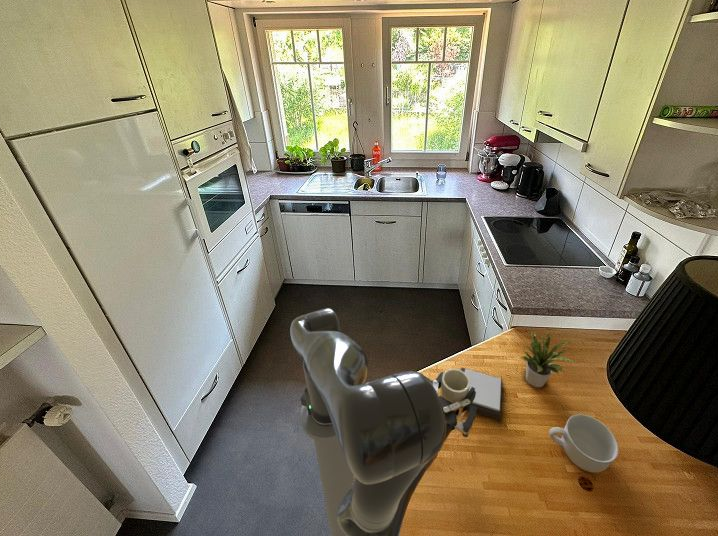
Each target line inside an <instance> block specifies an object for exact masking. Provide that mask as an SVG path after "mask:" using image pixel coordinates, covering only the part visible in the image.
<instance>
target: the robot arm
mask: <svg viewBox="0 0 718 536" xmlns="http://www.w3.org/2000/svg"><path fill="white" fill-rule="evenodd" d="M290 324H291V325H290V328H289V329H290V330H289V333H290V340H291V343H292V346H293V348H294V350H295V352H296V354H297V355H298V356H299V358H300V359H302V369H303V373H304V378H305V385H306V387H305V388H304V391H303V394H302V395H301V397H300V404H301V406H302V405H303V406H306V407H307V409H308V414H309V415H311V416H312V419H313V420H314V422H315V423H317V424H318V425H321V426H331V425H333V428H334V431H335V433H336V436H337V439H338V442H339V445H340V448H341V451H342V453H343V456H344V458H345V461H346V463H347V465H348V467H349V469H350V470H351V472H352V474H353V475H354V481H353V486H352V488H351V489H350V490H349V491H348V493H347V494H346V495H345V496H344V498H343V500H342V501H341V503H340V506H339V508H338V512H337V520H338V524H339V526H340V528H341V529H342V531H343V532H344V533H345V534H346V536H400V534H401V532H402V531H401V530H402V526H403V523H404V518H405V516H406V512H407V509H408V506H409V503H410V501H411V499H412V497H413V495H414V493H415V491H416V489H417V488H418V485H419V484H420V482H421V480H422V479H423V477H424V476H425V473H426V472H427V471H428V469H430V467H431V466H432V464H433V463H434V461H435V460H436V459H437V457H438V455H439V453H440V451H441V450H442V448H443V446H444V445H445V442H446V440H447V438H448V437H449V435H450V434H451V432H452V431H454V430H456V431H459V432H460V433H461V435H462V436H463V437H464V438H468V437H469V434H470V432H471V429H472V427H473V424H474V421H475V418H476V415H477V413H476V411H477V408H476V407H475V406H473V405H472V402H473V401H474V399H475V396H476V391H475V388H474V387H471V389H470V391H469V393H468V394H467V396H466V397H465V400H463V401H461V402H459V401H458V402H456V403H454V404H453V403H451V402H450V401H447V400H445V399H444V398H443V397H442V396H440V395H439V389H441V381H442V376H443V373H444V372H445V371H446V370H444V371H441V372H440V373H439V374H438V375H437V377H436V378H435V379H434V380H431V378H429V377H427V376H425V374H423V373H422V372H419V371H417V370H403V371H399V372H395V373H392V374H389V375H386V376H383V377H380V378H376V379H373V380H371V381H368V382H366V380H367V376H368V370H369V366H368V364H369V363H368V358H367V355H366V353H365V351H364V349H363V348H362V346H360V344H358V342H356V341H355V340H354V339H353V338H351V336H349V335H347V334H345V333H344V332H342V331H341V325H340V321H339V318H338V314H337V313H336V312H335V311H334V310H333V309H332V308H329V307H327V308H326V307H325V308H322V309H319V310H315V311H311V312H309V313H306V314H302V315H299V316H298V317H296V318H295V319H293V320H292V322H291V323H290ZM464 412H465V413H466V412H467V413H468V414H467V416H466V419H463V420H461V421H460V422H458V420H457V417H459V416H460V415H461V414H462V413H464Z"/></svg>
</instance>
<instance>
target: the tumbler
mask: <svg viewBox="0 0 718 536" xmlns="http://www.w3.org/2000/svg"><path fill="white" fill-rule="evenodd" d="M444 371H445V372H444ZM444 371H443V376H442V381H441V387H440V390H439V396H442V397H443V398H444V399H445V400H447V401H450V402H451V403H453V404H454V403H456V402H458V401H459V402H461V401H463V400H465V397H466V396H467V394H468V393H469V388H470V379H469V377H468V376H467V374H466V373H465V372H463V371H461V369H458V368H450V369H449V368H448V369H446V370H444ZM465 413H466V412H464V413H462V414H461V415H460V416H459V417H457V421H460V420H461V419H462V418H463V417H464V416H465Z"/></svg>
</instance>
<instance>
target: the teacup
mask: <svg viewBox="0 0 718 536" xmlns="http://www.w3.org/2000/svg"><path fill="white" fill-rule="evenodd" d="M548 433H549V437H550V439H551V440H552V441H553V442H554V443H556V444H557V445H559V447H560V448H563V451H564V453H565V455H566V457H568V459H569V460H570V461H571V462H572V463H573V464H574V465H576V466H577V467H578V468H579V469H581V470H583V471H585V472H589V473H600V472H604V471H606V470H607V469H608V468H609V467H610V466H611V464H612V463H613V462H614V461H616V459H617V458H618V456H619V444H618V440H617V439H616V437H615V435H614V433H613V432H612V431H611V430H610V428H608V426H606V425H605V424H604V423H603V422H602V421H600V420H599V419H597V418H595V417H593V416H591V415H588V414H583V413H578V414H573V415H571V416H569V418H568V419H567V421H566V423H565V426H564V428H562V427H559V426H554V427H552V428H550V429H549V432H548ZM557 435H561V438H560V437H558V436H557Z"/></svg>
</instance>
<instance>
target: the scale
mask: <svg viewBox="0 0 718 536" xmlns="http://www.w3.org/2000/svg"><path fill="white" fill-rule="evenodd" d="M460 370H461V371H463V372H465V373H466V374H467V376H468V377H469V379H470V388H469V391H470V389H471V387H474V388H475V391H476V396H475V399H474V401H473V402H472V405H473V406H475V407H476V408H477V411H476V415H481V416H484V417H487V418H490V419H493V420H496V421H500V419H501V414H502V395H503V394H502V393H503V378H501V377H498V376H494V375H490V374H487V373H483V372H479V371H476V370H473V369H469V368H466V367H461V368H460Z"/></svg>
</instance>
